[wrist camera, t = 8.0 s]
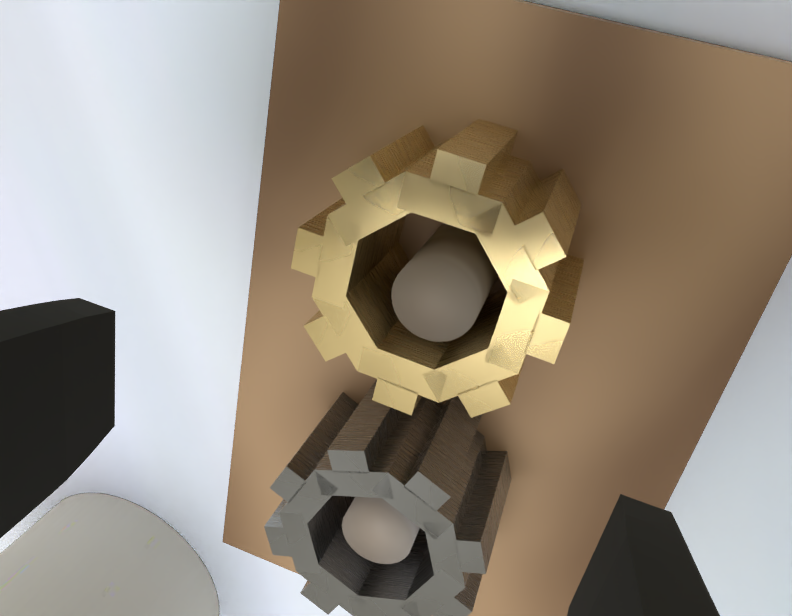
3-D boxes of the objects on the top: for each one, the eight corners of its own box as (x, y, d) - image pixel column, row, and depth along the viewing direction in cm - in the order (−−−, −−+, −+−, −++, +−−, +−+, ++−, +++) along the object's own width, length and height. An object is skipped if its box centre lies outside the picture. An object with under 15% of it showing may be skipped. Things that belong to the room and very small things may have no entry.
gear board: (859, 77, 14) (939, 106, 10) (576, 656, 22) (563, 788, 18) (308, -49, 16) (210, -63, 12) (240, 518, 24) (169, 611, 21)
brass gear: (622, 162, 14) (618, 206, 11) (538, 375, 17) (516, 456, 14) (381, 88, 15) (317, 111, 12) (336, 300, 18) (274, 361, 15)
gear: (495, 374, 17) (465, 453, 14) (521, 547, 19) (499, 650, 16) (302, 377, 19) (239, 447, 16) (343, 534, 21) (293, 624, 18)
